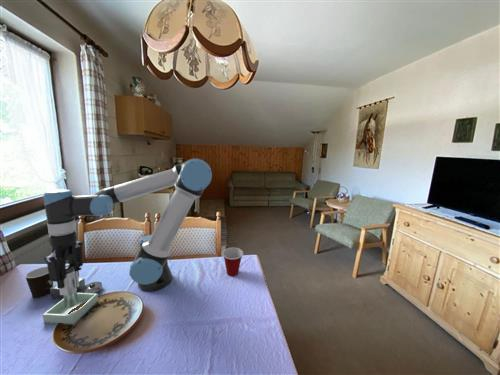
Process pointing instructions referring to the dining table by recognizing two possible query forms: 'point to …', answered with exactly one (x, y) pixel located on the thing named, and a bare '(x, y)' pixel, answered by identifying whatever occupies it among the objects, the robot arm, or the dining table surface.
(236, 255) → the plastic cup
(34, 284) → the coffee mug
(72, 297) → the clear bottle
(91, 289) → the pulley wheel
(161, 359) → the dining table surface
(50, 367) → the dining table surface
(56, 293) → the block
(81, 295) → the tray
